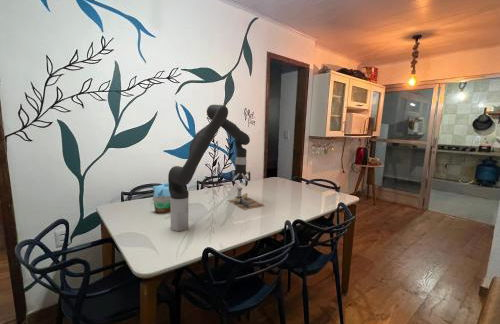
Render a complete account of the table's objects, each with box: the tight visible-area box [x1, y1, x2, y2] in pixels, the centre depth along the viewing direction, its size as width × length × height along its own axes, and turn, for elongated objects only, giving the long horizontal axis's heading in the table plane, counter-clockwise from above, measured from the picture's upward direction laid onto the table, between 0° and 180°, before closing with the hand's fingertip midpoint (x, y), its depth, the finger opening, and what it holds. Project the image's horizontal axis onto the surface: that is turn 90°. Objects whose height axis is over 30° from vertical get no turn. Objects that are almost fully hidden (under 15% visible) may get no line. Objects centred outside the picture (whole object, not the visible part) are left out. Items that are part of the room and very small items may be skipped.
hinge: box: [234, 192, 250, 208], centre depth 173 cm, size 18×14×4 cm
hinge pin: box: [236, 186, 243, 198], centre depth 173 cm, size 4×4×11 cm
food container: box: [152, 195, 170, 215], centre depth 151 cm, size 12×6×10 cm, turn 105°
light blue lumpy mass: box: [152, 182, 170, 197], centre depth 171 cm, size 18×16×14 cm
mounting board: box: [227, 196, 266, 211], centre depth 173 cm, size 22×18×1 cm
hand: (239, 186), depth 171 cm, fingers open, 8 cm apart
